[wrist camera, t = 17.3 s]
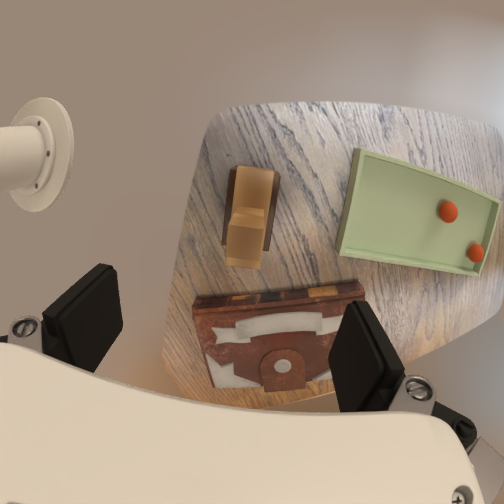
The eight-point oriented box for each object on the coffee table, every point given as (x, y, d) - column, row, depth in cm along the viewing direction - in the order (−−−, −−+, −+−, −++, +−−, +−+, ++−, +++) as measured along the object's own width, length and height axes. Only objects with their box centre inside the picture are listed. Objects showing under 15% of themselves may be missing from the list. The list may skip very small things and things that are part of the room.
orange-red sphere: (474, 258, 33) (462, 256, 34) (480, 242, 32) (468, 239, 32) (482, 267, 31) (470, 264, 31) (489, 250, 29) (477, 247, 30)
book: (356, 277, 37) (367, 292, 32) (352, 361, 41) (359, 380, 36) (197, 295, 39) (188, 311, 34) (217, 375, 43) (212, 395, 38)
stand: (228, 229, 34) (221, 245, 29) (236, 165, 31) (229, 168, 26) (267, 234, 34) (268, 251, 29) (277, 171, 31) (280, 175, 26)
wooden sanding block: (230, 252, 29) (215, 298, 20) (240, 164, 26) (228, 171, 17) (260, 256, 29) (258, 304, 20) (273, 168, 26) (278, 178, 17)
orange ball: (448, 222, 31) (433, 217, 32) (453, 202, 30) (438, 197, 31) (458, 227, 29) (442, 222, 29) (463, 206, 28) (447, 201, 28)
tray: (334, 248, 35) (338, 255, 32) (354, 148, 30) (360, 148, 28) (471, 271, 35) (479, 277, 33) (492, 197, 30) (501, 201, 28)
